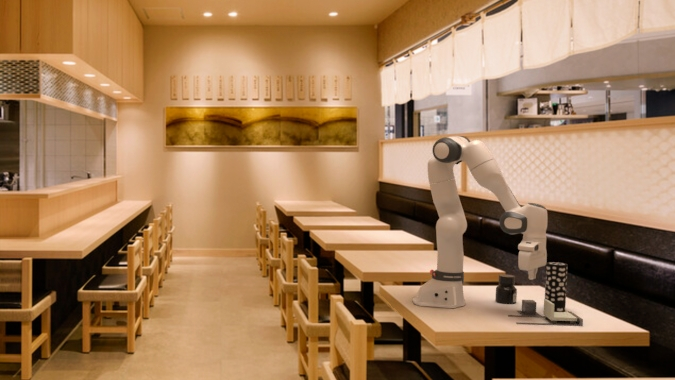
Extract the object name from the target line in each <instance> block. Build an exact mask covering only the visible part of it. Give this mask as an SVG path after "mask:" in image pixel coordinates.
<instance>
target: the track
mask: <svg viewBox="0 0 675 380" xmlns="http://www.w3.org/2000/svg"><path fill="white" fill-rule="evenodd" d="M567 312H569V313H570V314H572V315H573V316H575V317H577V321H575V324H570V323H556V324H553V323H551V322H549V323H545V322H542V323H540V322H520V321H519V322H515V323H516V325H534V326H562V327H563V326H566V327H569V326H570V327H583V325H584V318H582V317H580V316H578V315H577V314H575V313H574V312H572V311H567ZM507 316H508V317H510V318H513V317H514V318H540V319H541V318H543V319H546V318H545V315H541V316H524V315H521V314H517V315H516V314H508V315H507Z"/></svg>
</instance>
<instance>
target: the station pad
mask: <svg viewBox="0 0 675 380" xmlns="http://www.w3.org/2000/svg"><path fill="white" fill-rule="evenodd" d="M516 312H517V313H518V315H524V316H542V315H541V314H540V313H538V312H537V311H536V315H527V314H524V313H522V310H516Z"/></svg>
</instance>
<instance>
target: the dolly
mask: <svg viewBox="0 0 675 380" xmlns="http://www.w3.org/2000/svg"><path fill="white" fill-rule="evenodd" d="M554 305H555V304H553V303H552V302H550V301H549V300H547V299H545V298H543V312H542V313H543V314H542V316H545V318H544V319H546V320H550V321H551V322H550V323H551V324H558V321H560V322H561V321H562V322H564V321H565V322H569V324H576V323H575V321H577V317H575V316H573V315H572V314H570V313H569V312H568V311H567V312H566V311H565V312H554Z"/></svg>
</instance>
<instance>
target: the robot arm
mask: <svg viewBox="0 0 675 380" xmlns="http://www.w3.org/2000/svg"><path fill="white" fill-rule="evenodd" d="M432 155H433V157H432V158H431V159H429V160H428V162H427V176H428V177H427V178H428V183H429V188H430V193H431V196H432V197H431V198H432V200H433V201H432V203H433V204H434V207H435V210H436V211H437V215H438V217H439V218H438V220H437V221H436V224H435V232H436V236H435V237H436V248H437V249H436V250H437V256H436V257H437V258H436V259H437V262H436V269H435V270H434V269H430V270H429V273H430V275H431V278H430V279H429V280H428V281H426V282H425V283H424V284H422V285H421V286H419V289H418V292H417V296H414V297H412V300H411V301H412V303H413V304H414V305H416V306H419V307H420V306H421V307H431V308H432V307H433V308H445V309H446V308H447V309H455V308H459V307H463V306H466V301H465V295H464V282H465V271H464V258H465V257H464V256H465V255H464V254H465V253H464V245H463V243H464V241H463V237H464V236H463V235H464V233H466V231H467V228H468V222H467V219H466V216H465V215H466V214H465V211H464V209H463V206H462V203H461V202H462V201H461V199H460V195H459V191H458V187H457V182H456V179H455V178H456V177H455V173H454V166H455V165H458V164H459V165H460V163H461V162H464V163H465V164H466V166H467V168H468V169H469V172H470V173H471V175H472V177H473V179H474V180H475V182H476V183H478V185H479V186H481V187H482V188H485V189H487V190H488V191H490V192H491V193H493V194H494V195H495V197H496V198H497V200H498V201H499V203H500V205H501V206H502V209H504V213H502V214H501V216H500V217H499V221H498V222H499V227H500V229H501V230H502V231H503V232H504V233H506V234H509V235H518V234H522V235H523V236H522V240H521V241H520V243H518V245H517V249H518V250H519V252H518V257H517V258H518V261H517V262H518V269H519V270H520V271H527V274H528V279H529V280H531V281H532V280H535V279H536V277H537V276H536V275H537V273H538V269H539V268H541V267H546V263H547V261H548V260H547V259H548V258H547V257H548V253H547V233H546V232H547V229H548V210H547V208H546V207H545V206H544V205H542V204H539V203H533V202H528V203H526V204H524V205H523V206H522V205H521V204H520V203H519V202H518V200H517V198H516V197H515V195H514V193H513V192H512V190H511V188H510V187H509V185H508V183H507V182H506V180H505V177H504V175H503V173H502V171H501V169H500V166H499V165H498V163H497V160H496V158H495V157H494V155H493V154H492V152H491V151H490V149H489V148H488V147H487V145H486V144H485V143H484V141H482V140H478V139H475V140H470V139H469V138H467V137H466V136H463V135H449V136H447V137H446V136H444V137H441V138H440V139H437V140H436V141H435V142H434V144H433V146H432Z"/></svg>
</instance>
